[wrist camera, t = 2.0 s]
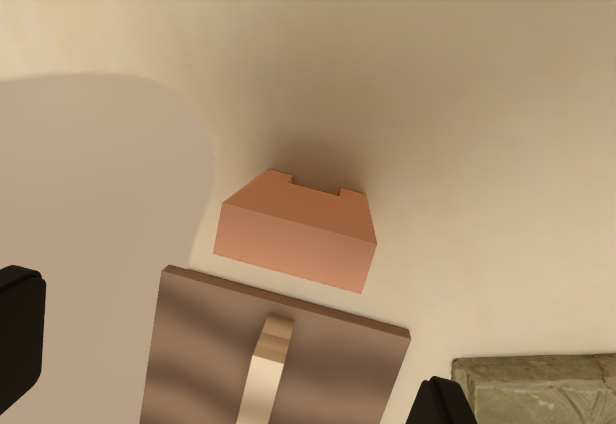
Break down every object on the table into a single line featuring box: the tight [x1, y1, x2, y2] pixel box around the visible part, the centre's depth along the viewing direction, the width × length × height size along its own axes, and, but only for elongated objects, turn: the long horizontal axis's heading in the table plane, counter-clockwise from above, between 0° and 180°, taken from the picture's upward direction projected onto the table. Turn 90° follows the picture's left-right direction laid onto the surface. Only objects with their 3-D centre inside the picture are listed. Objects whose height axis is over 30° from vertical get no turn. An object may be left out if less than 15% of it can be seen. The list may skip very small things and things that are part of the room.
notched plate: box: [213, 169, 377, 294], centre depth 21 cm, size 2×7×10 cm, turn 76°
